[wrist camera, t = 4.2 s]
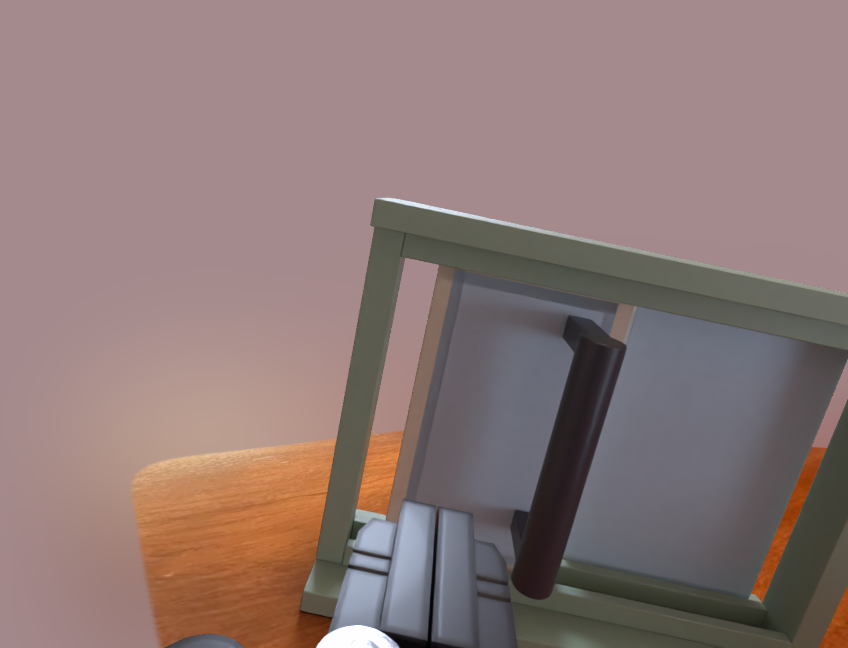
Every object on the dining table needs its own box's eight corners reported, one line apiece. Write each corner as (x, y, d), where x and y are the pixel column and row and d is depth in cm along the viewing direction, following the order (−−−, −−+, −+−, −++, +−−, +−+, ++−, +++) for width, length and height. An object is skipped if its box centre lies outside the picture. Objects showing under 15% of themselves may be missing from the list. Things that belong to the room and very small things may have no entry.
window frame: (833, 727, 22) (1026, 335, 18) (299, 611, 22) (371, 197, 18) (749, 610, 28) (879, 299, 24) (333, 520, 28) (393, 197, 24)
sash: (569, 666, 20) (685, 314, 17) (363, 621, 20) (439, 262, 17) (547, 577, 25) (635, 288, 22) (381, 541, 25) (442, 248, 22)
